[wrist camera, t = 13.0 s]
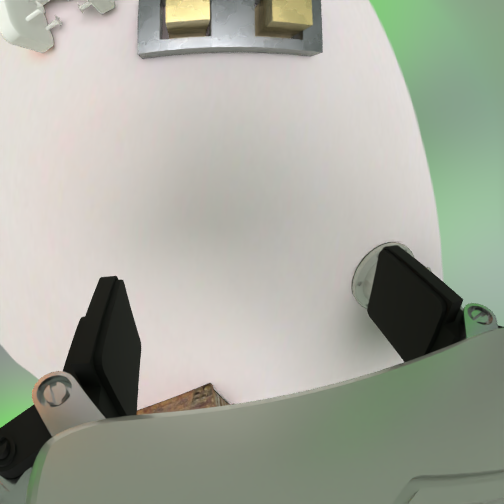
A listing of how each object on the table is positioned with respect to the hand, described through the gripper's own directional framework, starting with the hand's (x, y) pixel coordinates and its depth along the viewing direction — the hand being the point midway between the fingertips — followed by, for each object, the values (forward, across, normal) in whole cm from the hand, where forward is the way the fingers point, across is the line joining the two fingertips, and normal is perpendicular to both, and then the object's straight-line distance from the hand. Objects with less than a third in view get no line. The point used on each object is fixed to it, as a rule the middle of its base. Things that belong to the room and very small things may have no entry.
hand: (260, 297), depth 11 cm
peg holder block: (+28, -3, -17) cm, 33 cm away
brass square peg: (+28, +2, -17) cm, 33 cm away
